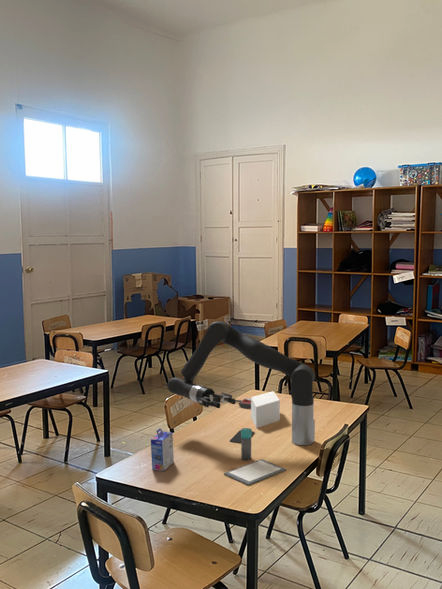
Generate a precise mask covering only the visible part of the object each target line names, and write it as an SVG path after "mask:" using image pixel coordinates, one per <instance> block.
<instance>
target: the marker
mask: <svg viewBox="0 0 442 589" xmlns="http://www.w3.org/2000/svg"><path fill="white" fill-rule="evenodd" d="M240 430H241V443H240V446H241V448H240V450H241V452H240V455H241V460H242V461H251V460H252V437H253V436H252V428H249V427H244V428H241V429H240Z"/></svg>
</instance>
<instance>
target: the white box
mask: <svg viewBox="0 0 442 589" xmlns="http://www.w3.org/2000/svg"><path fill="white" fill-rule="evenodd" d="M250 399H251V409H250V418H251V420H252V423H253V425H254V426H256V427H255V429H259V428H262V427H263V426H268V425H270V424H273V423H276V422H279V421H280V420H281V418H280V415H281V414H280V412H281V410H280V408H281V407H280V406H281V405H280V399H279V397H278V396H277V394H276V393H275V391H273V390H272V391H269V392H266V393H261V394H258V395H254V396H251V397H250Z"/></svg>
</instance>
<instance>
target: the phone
mask: <svg viewBox="0 0 442 589" xmlns="http://www.w3.org/2000/svg"><path fill="white" fill-rule="evenodd" d="M255 434H256V433H255V431H252V437H253V436H254V435H255ZM229 443H232V444H233V443H235V444H241V429H240V430H238V431H237V432H236V433H235V435H233V436H232V437H231V439H229Z"/></svg>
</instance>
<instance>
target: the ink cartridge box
mask: <svg viewBox="0 0 442 589" xmlns="http://www.w3.org/2000/svg"><path fill="white" fill-rule="evenodd" d="M155 431H156V432H155V433H156V435H154V436H153V437H152V438H151V439H150V450H151V451H150V452H151V454H150V455H151V468H152V470H153V471H154V470H155V471H160V472H164V471H165V470H166V469H168V467H170V466H171V465H172V464H173V463H174V462H175V461H174V458H175V457H174V456H175V455H174V454H175V453H174V437H173V436H174V434H173V432H171V431H163V430H162V428H158V429H157V430H155Z"/></svg>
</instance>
